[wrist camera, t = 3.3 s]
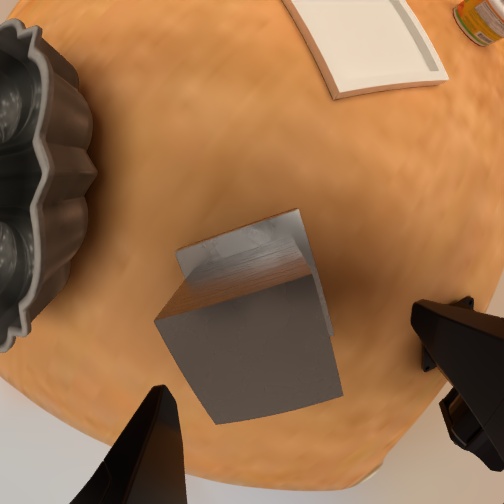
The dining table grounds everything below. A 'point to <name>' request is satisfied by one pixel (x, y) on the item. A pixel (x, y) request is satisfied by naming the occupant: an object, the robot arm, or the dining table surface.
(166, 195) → the dining table surface
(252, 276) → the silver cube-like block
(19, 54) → the bundt pan
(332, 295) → the dining table surface
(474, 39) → the supplement bottle
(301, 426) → the dining table surface
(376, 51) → the white tray
